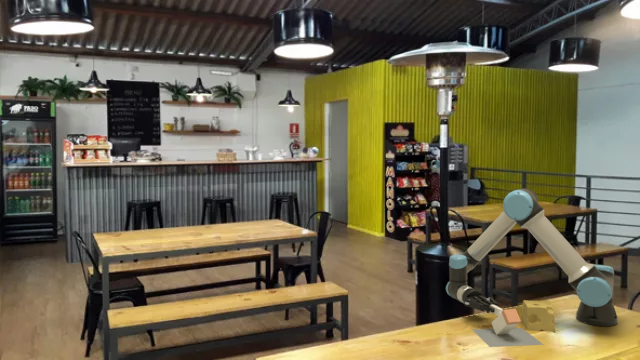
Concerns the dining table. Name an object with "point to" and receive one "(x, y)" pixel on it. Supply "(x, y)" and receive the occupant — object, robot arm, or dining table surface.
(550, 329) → the cheese
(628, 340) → the dining table surface
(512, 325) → the tall block
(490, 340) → the slate mat
